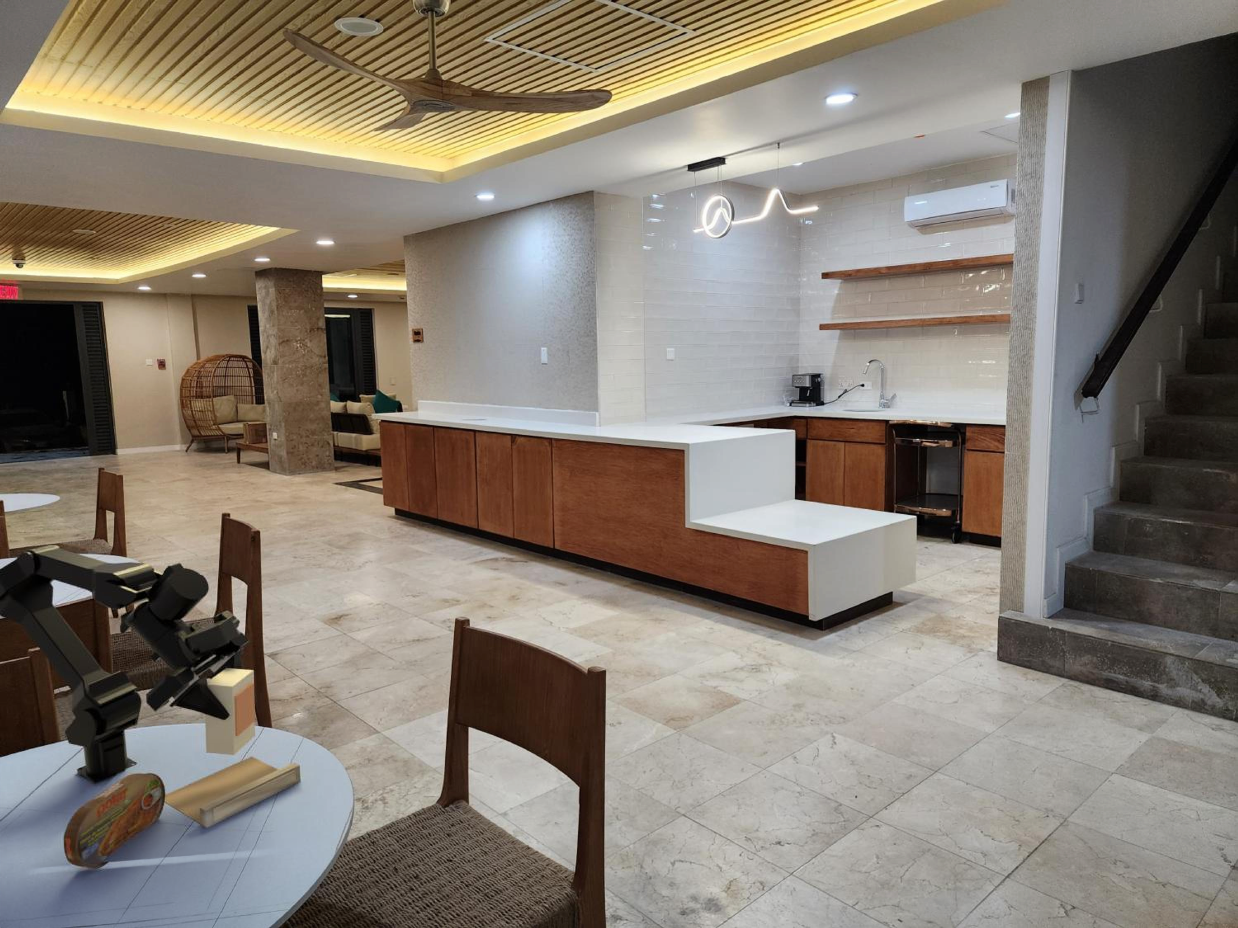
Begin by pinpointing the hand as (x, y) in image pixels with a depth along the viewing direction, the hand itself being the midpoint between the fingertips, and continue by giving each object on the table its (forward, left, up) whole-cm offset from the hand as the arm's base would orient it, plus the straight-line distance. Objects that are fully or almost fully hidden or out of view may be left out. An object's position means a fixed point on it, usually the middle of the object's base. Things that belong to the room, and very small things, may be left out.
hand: (238, 708), depth 123 cm
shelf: (-1, -2, -13) cm, 13 cm away
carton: (-2, -1, -6) cm, 6 cm away
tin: (0, -18, -13) cm, 22 cm away
